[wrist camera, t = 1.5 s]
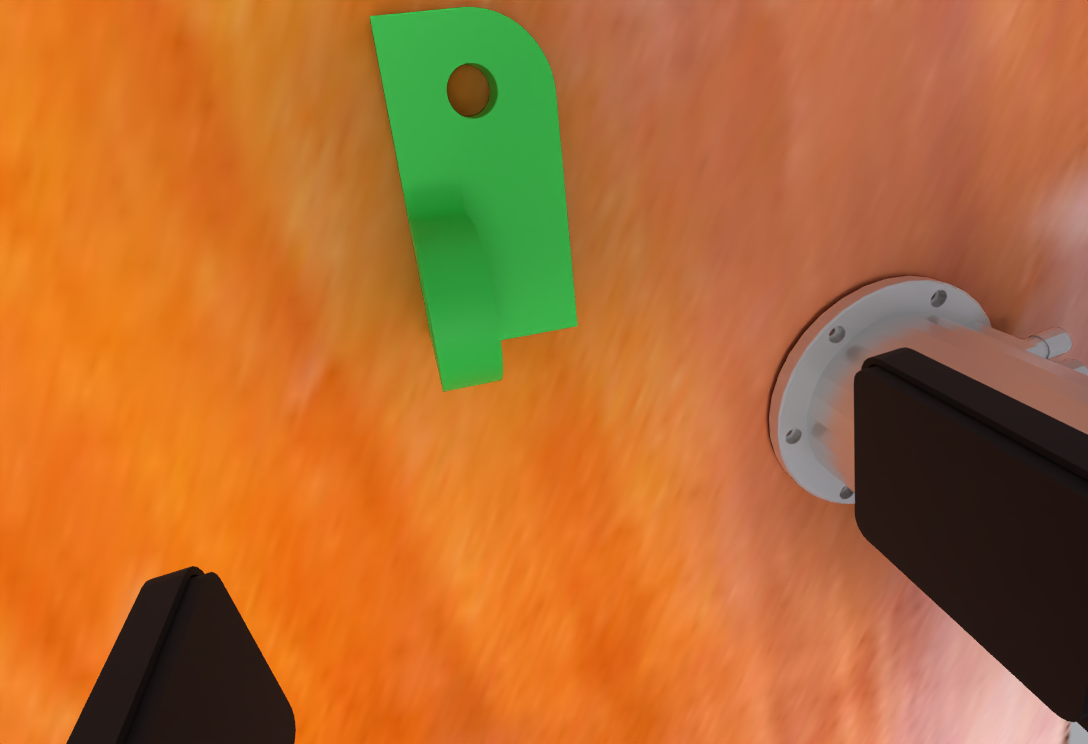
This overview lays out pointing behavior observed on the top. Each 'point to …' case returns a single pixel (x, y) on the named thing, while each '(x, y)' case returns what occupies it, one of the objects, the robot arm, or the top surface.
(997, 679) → the top surface
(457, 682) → the top surface
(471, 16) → the mechanical part
